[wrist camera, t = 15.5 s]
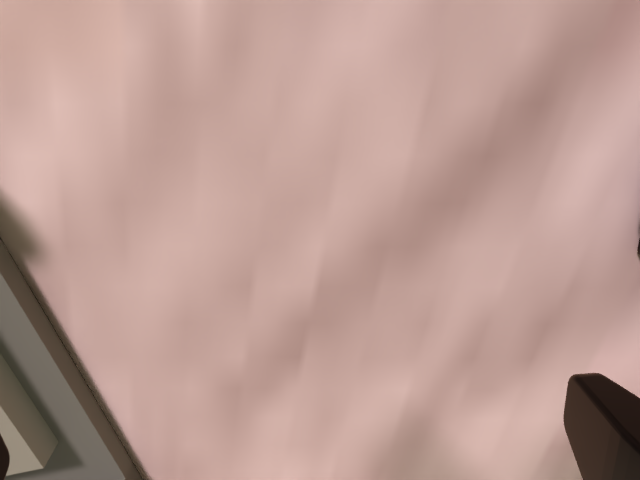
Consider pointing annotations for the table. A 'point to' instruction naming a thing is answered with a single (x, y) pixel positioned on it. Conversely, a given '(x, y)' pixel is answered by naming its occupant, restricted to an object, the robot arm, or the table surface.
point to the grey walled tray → (48, 398)
